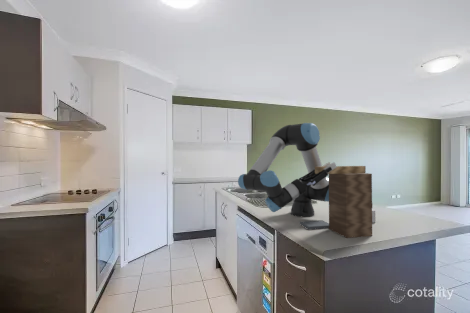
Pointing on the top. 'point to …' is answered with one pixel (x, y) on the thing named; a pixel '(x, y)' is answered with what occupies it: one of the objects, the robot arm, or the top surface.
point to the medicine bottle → (373, 216)
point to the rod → (343, 169)
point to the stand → (350, 204)
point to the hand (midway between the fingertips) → (332, 164)
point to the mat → (315, 224)
